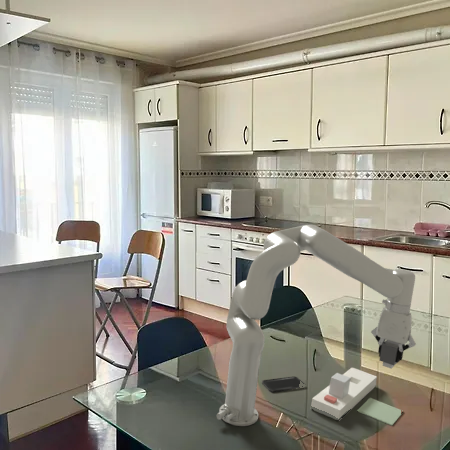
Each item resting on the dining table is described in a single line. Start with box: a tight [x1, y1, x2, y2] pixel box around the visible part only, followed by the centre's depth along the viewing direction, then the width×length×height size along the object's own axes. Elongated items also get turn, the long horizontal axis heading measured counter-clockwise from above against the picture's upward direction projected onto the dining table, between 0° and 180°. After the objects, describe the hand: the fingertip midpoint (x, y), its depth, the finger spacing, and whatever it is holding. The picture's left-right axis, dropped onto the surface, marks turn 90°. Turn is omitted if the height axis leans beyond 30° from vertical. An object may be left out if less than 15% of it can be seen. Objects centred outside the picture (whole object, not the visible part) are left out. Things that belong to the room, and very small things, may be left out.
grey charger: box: [329, 372, 350, 399], centre depth 173 cm, size 5×5×8 cm
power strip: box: [310, 367, 378, 419], centre depth 179 cm, size 34×10×5 cm, turn 144°
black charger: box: [379, 340, 399, 369], centre depth 169 cm, size 5×5×8 cm
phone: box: [261, 376, 305, 394], centre depth 184 cm, size 8×1×15 cm
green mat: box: [356, 397, 402, 426], centre depth 172 cm, size 12×12×1 cm
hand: (389, 357), depth 169 cm, fingers closed on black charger, 5 cm apart
